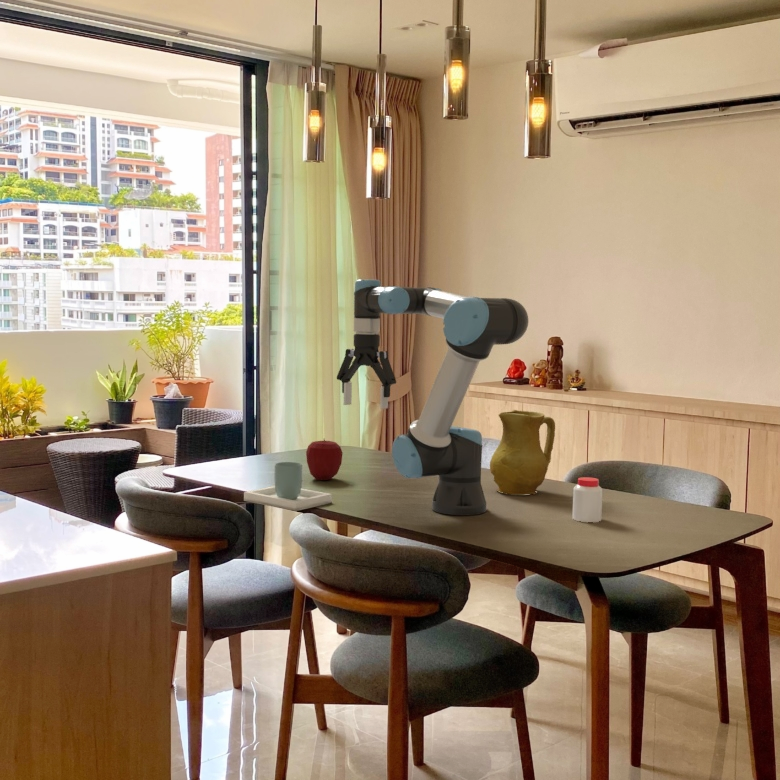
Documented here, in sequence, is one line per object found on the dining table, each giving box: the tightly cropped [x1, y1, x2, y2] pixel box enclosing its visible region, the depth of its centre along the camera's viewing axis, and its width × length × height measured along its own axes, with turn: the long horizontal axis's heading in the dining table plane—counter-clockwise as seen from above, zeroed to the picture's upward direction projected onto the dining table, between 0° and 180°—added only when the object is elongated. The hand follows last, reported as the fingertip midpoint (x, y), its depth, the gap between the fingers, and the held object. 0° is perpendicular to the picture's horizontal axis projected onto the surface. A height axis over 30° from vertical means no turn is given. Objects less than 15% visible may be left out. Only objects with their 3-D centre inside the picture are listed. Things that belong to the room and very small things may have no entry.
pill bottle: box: [571, 476, 604, 523], centre depth 264 cm, size 8×8×11 cm
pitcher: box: [489, 409, 556, 495], centre depth 298 cm, size 17×19×25 cm
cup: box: [273, 461, 303, 500], centre depth 278 cm, size 8×8×10 cm
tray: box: [243, 485, 333, 512], centre depth 278 cm, size 20×15×2 cm
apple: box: [305, 439, 344, 481], centre depth 313 cm, size 12×12×13 cm
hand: (365, 406), depth 284 cm, fingers open, 13 cm apart
